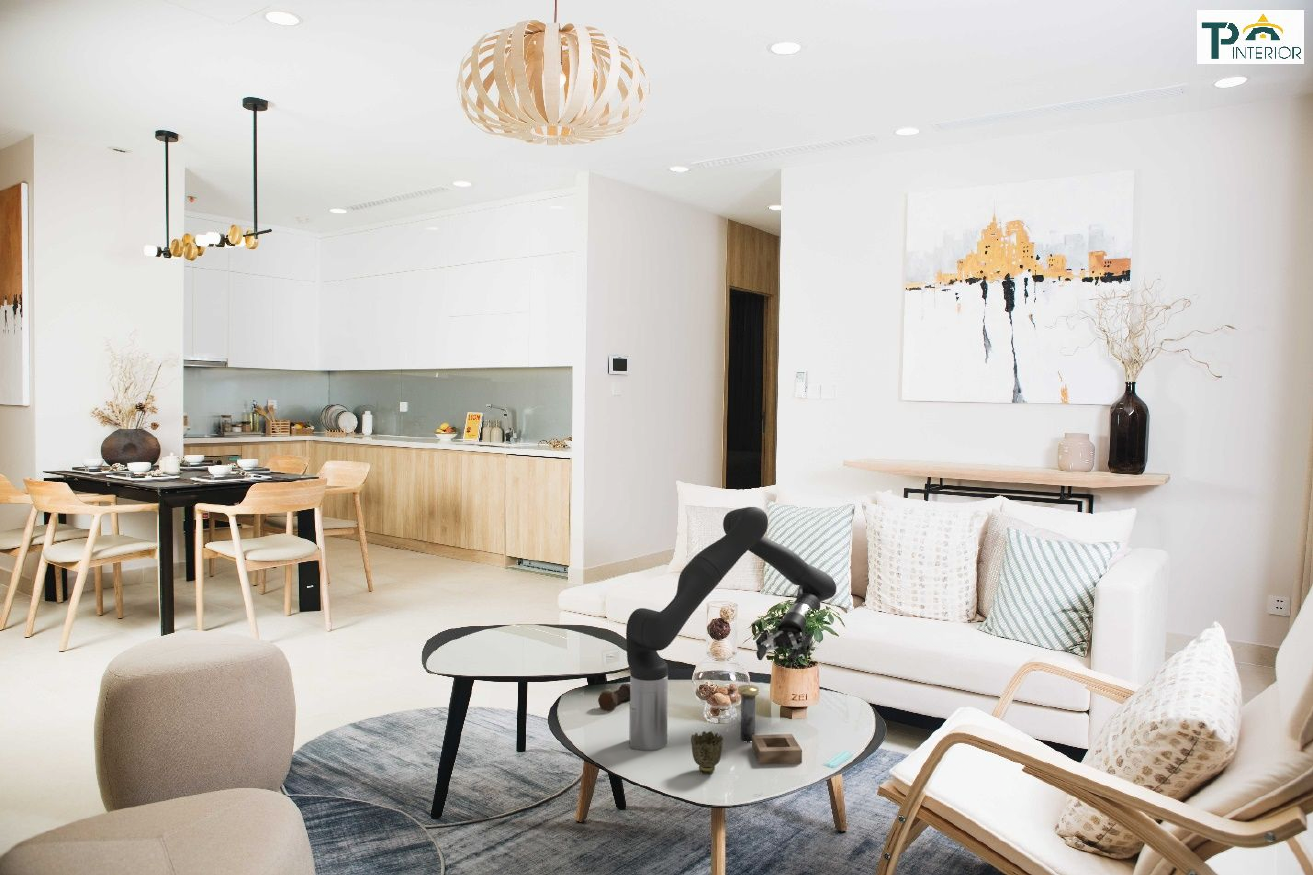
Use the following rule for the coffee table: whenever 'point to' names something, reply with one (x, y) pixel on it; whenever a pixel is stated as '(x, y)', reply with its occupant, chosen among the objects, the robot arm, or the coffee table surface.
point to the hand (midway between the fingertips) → (773, 659)
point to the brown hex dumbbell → (614, 697)
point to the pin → (747, 711)
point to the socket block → (776, 749)
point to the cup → (707, 750)
